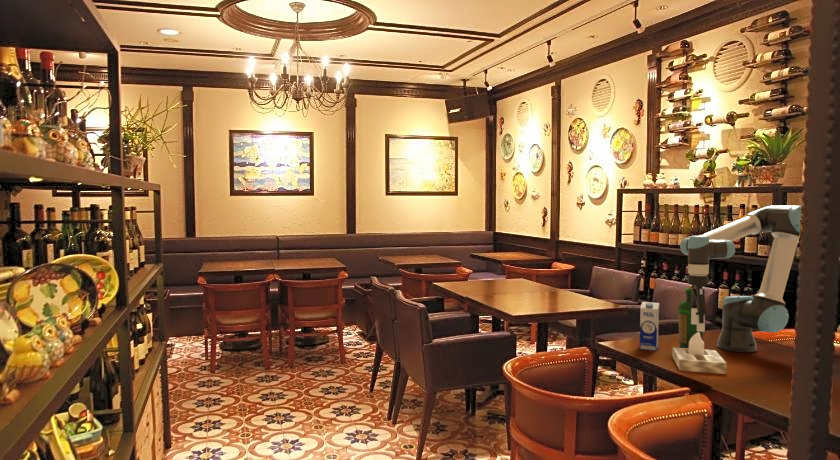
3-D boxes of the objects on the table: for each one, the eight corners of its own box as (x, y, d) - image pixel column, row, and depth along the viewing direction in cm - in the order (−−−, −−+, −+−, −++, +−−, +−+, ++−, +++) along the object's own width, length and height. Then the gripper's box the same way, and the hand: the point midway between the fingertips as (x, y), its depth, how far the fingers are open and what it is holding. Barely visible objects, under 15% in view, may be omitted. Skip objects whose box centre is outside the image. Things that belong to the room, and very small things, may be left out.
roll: (685, 330, 239) (698, 330, 240) (684, 360, 239) (697, 359, 240) (695, 333, 233) (708, 333, 234) (694, 363, 233) (707, 363, 235)
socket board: (715, 360, 240) (715, 350, 240) (726, 374, 220) (726, 363, 220) (672, 356, 244) (672, 347, 244) (679, 370, 224) (679, 359, 224)
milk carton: (658, 347, 260) (659, 302, 259) (656, 351, 254) (657, 304, 253) (641, 345, 263) (642, 301, 262) (639, 349, 257) (640, 303, 256)
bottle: (682, 346, 263) (684, 283, 262) (707, 350, 256) (709, 285, 255) (672, 350, 256) (674, 285, 255) (698, 354, 248) (700, 288, 247)
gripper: (683, 270, 248) (682, 321, 249) (693, 278, 224) (692, 334, 225) (702, 271, 246) (702, 321, 247) (714, 278, 222) (714, 335, 223)
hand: (697, 327), depth 236 cm, fingers open, 13 cm apart
